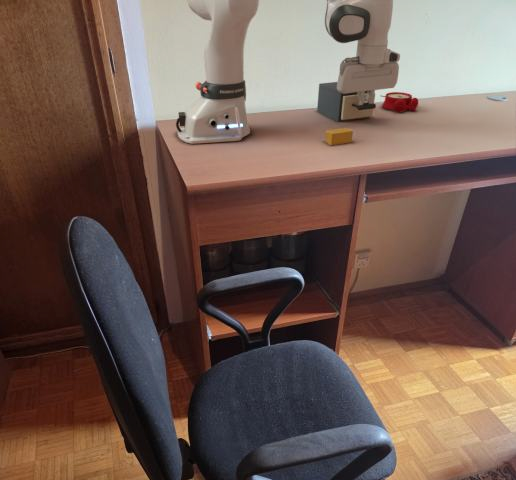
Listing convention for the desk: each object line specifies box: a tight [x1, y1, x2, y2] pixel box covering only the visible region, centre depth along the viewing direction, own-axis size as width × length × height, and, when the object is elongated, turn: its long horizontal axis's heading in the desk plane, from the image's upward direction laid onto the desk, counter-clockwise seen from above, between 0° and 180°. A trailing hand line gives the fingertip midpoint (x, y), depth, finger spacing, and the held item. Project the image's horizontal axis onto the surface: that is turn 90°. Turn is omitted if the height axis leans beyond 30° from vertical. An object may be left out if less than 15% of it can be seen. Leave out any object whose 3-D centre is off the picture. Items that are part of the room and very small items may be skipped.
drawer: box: [340, 92, 377, 120], centre depth 149 cm, size 18×11×7 cm, turn 23°
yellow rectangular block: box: [324, 127, 354, 146], centre depth 132 cm, size 7×3×3 cm, turn 113°
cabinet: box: [316, 81, 371, 123], centre depth 153 cm, size 15×13×9 cm
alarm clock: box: [381, 91, 419, 114], centre depth 159 cm, size 10×6×15 cm
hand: (364, 106), depth 144 cm, fingers closed
